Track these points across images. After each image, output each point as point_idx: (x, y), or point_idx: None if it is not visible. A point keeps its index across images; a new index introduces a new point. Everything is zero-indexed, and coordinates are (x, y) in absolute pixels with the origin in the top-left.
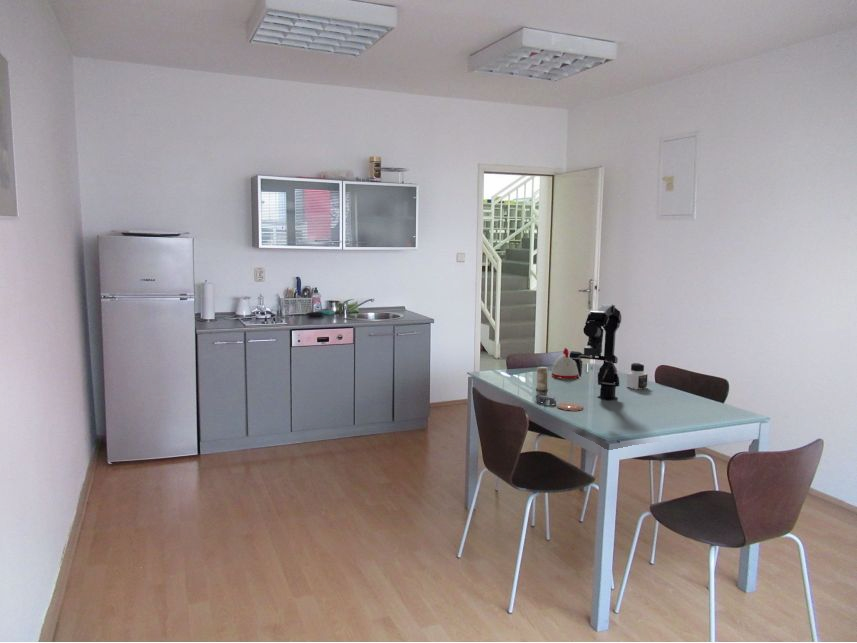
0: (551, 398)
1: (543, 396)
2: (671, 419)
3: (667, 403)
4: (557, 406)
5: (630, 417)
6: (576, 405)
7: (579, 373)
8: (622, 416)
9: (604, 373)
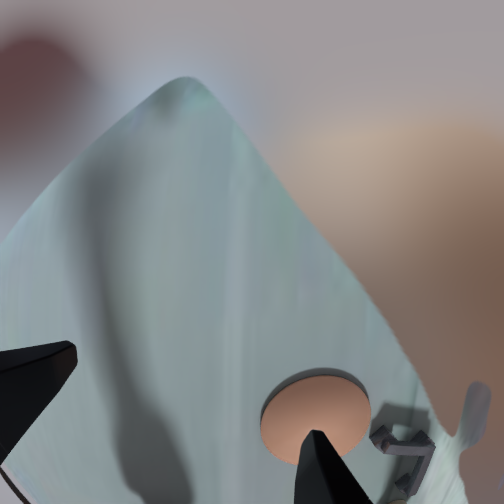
0: (396, 444)
1: (422, 449)
2: (7, 313)
3: (36, 458)
4: (370, 409)
5: (84, 322)
6: (288, 443)
7: (328, 451)
8: (106, 333)
9: (16, 349)
